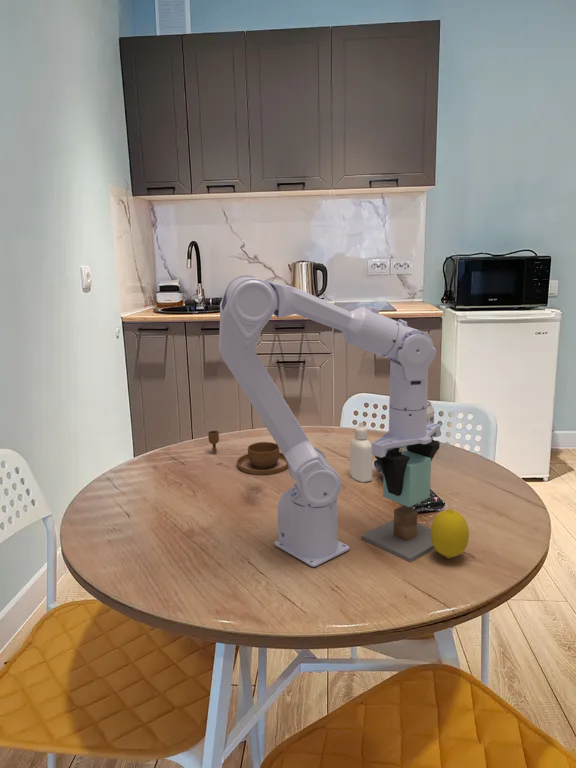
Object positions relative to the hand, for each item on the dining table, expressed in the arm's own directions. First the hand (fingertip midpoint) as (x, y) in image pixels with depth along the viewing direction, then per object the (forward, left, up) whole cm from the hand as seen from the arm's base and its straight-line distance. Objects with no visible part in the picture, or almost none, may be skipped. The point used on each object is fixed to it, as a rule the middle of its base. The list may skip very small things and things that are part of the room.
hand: (406, 488), depth 92 cm
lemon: (+8, 0, -9) cm, 12 cm away
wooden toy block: (0, 0, -9) cm, 9 cm away
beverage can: (-23, +34, -9) cm, 42 cm away
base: (0, 0, -9) cm, 9 cm away
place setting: (-46, +5, -10) cm, 47 cm away
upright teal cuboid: (0, 0, -2) cm, 2 cm away
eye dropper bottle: (-22, +14, -9) cm, 28 cm away
